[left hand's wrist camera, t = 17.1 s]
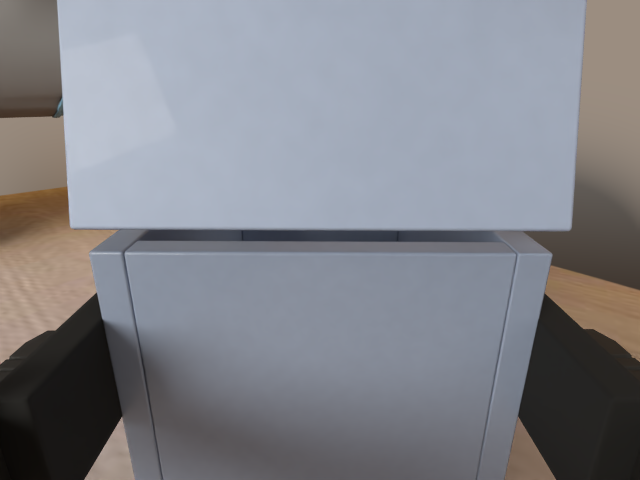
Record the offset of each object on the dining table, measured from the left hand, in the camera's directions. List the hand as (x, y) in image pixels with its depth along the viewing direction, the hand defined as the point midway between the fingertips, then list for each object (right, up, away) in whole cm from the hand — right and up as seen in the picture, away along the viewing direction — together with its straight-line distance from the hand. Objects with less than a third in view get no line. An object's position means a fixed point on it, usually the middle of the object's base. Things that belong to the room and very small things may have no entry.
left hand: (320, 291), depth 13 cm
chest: (0, -6, +5) cm, 8 cm away
